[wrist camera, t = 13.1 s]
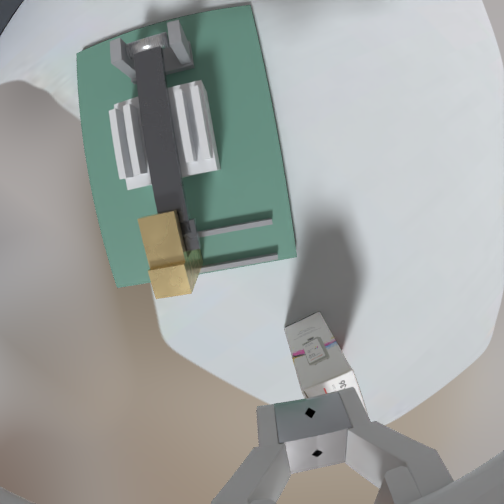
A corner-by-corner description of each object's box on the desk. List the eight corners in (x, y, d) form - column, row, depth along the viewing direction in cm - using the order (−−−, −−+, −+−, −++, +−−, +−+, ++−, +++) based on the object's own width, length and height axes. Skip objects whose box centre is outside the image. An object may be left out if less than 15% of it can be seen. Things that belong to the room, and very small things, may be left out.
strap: (169, 36, 20) (164, 28, 19) (204, 245, 25) (201, 249, 23) (131, 47, 20) (125, 41, 19) (163, 252, 25) (158, 257, 23)
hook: (189, 200, 28) (171, 212, 21) (203, 262, 30) (191, 293, 23) (161, 206, 28) (134, 220, 21) (175, 267, 30) (156, 298, 23)
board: (249, 10, 24) (252, -27, 17) (294, 253, 32) (310, 279, 24) (81, 56, 24) (48, 36, 17) (120, 283, 32) (93, 313, 25)
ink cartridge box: (341, 359, 36) (381, 442, 22) (306, 374, 36) (333, 462, 22) (321, 308, 34) (365, 391, 20) (282, 326, 34) (305, 417, 20)
